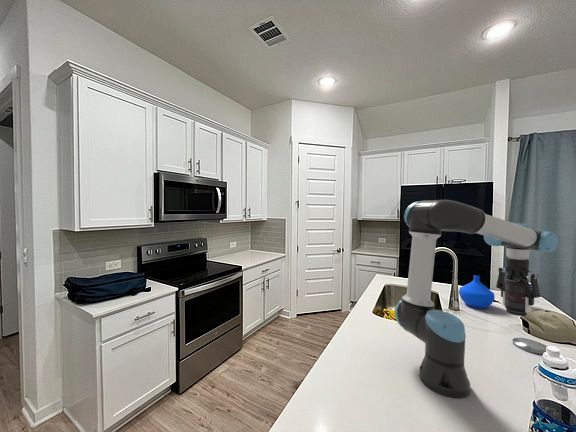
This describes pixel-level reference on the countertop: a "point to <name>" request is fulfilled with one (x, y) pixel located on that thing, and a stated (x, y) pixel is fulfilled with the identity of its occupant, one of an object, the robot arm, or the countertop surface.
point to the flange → (529, 345)
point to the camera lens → (515, 297)
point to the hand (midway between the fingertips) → (516, 308)
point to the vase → (476, 294)
